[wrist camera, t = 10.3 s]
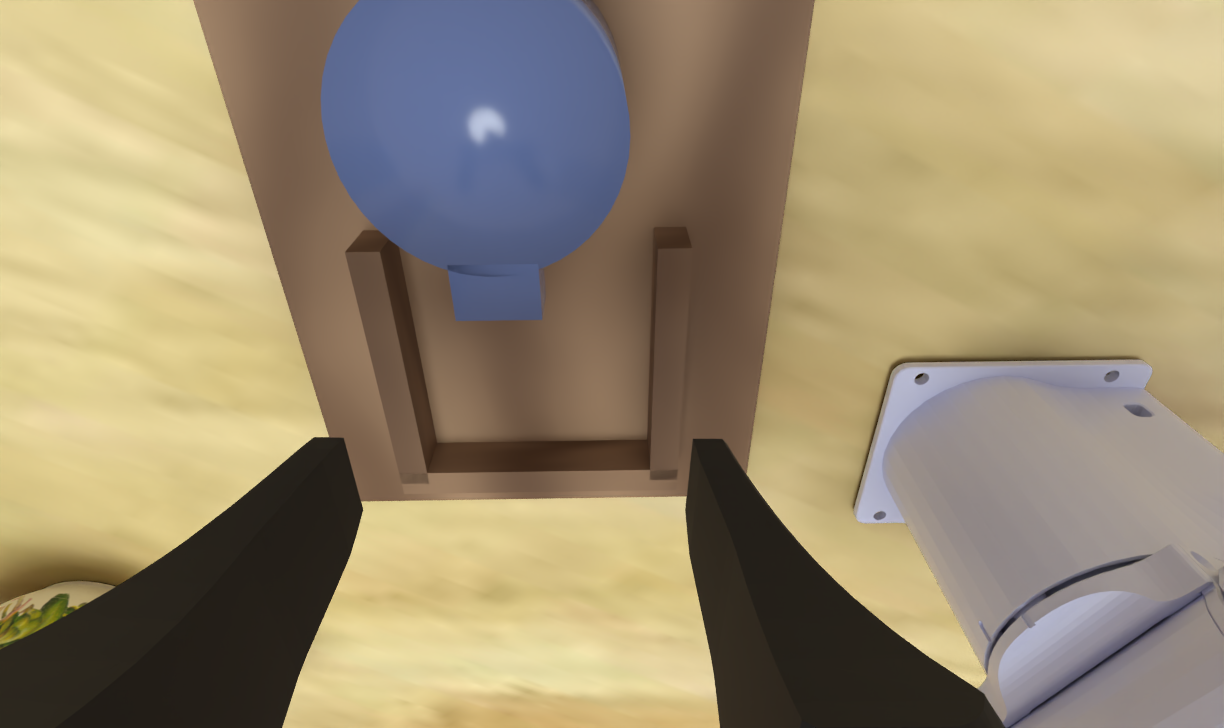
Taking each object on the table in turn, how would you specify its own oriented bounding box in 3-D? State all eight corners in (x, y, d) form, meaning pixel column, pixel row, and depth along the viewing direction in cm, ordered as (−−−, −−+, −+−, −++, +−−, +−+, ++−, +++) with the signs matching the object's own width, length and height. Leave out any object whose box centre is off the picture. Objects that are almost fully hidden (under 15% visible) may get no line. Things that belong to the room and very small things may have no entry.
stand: (835, -216, 15) (873, -243, 13) (739, 481, 27) (751, 526, 25) (145, -214, 15) (71, -240, 13) (355, 487, 27) (334, 533, 25)
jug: (621, 224, 20) (628, 318, 15) (427, 227, 20) (369, 322, 15) (622, -317, 14) (636, -473, 9) (336, -317, 14) (178, -473, 8)
